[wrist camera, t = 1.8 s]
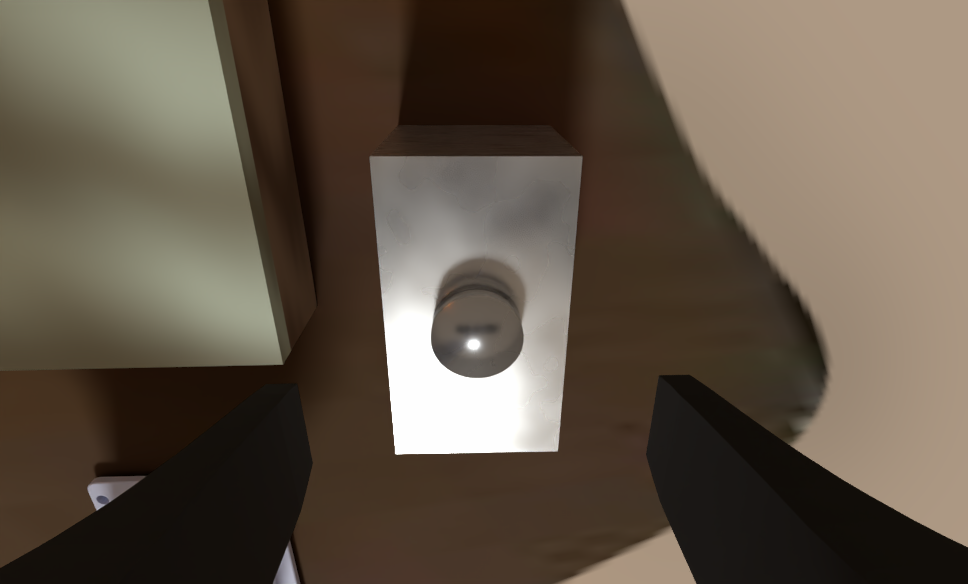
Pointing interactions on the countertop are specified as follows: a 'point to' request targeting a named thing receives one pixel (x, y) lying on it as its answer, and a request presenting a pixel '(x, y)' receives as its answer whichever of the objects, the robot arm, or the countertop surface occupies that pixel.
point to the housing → (476, 283)
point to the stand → (146, 187)
